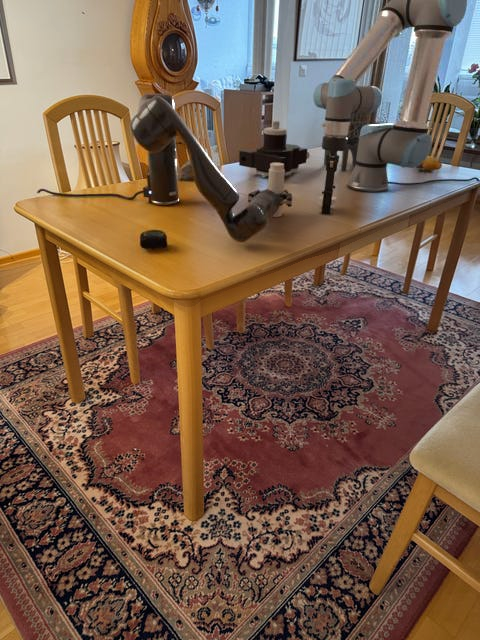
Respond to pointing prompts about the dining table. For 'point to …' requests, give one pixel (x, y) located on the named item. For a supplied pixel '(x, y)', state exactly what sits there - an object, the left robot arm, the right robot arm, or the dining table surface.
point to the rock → (186, 172)
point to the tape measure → (153, 239)
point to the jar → (276, 181)
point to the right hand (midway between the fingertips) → (326, 210)
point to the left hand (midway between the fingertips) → (277, 192)
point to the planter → (352, 138)
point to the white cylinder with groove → (331, 201)
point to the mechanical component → (274, 153)
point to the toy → (430, 164)
